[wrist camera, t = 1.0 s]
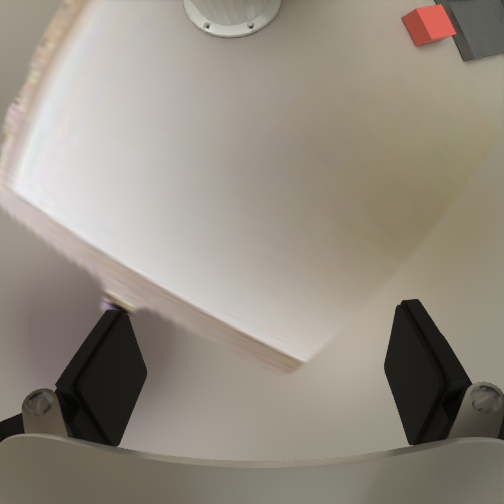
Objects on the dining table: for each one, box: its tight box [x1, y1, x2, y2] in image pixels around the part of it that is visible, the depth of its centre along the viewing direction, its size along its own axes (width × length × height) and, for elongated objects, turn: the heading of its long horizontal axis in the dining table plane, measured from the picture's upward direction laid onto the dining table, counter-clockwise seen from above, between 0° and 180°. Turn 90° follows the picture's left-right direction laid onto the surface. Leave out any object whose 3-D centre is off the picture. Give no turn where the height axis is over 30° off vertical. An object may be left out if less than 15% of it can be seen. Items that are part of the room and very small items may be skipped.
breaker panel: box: [435, 0, 504, 61], centre depth 25 cm, size 12×20×6 cm, turn 116°
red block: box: [402, 4, 456, 46], centre depth 29 cm, size 4×4×5 cm
